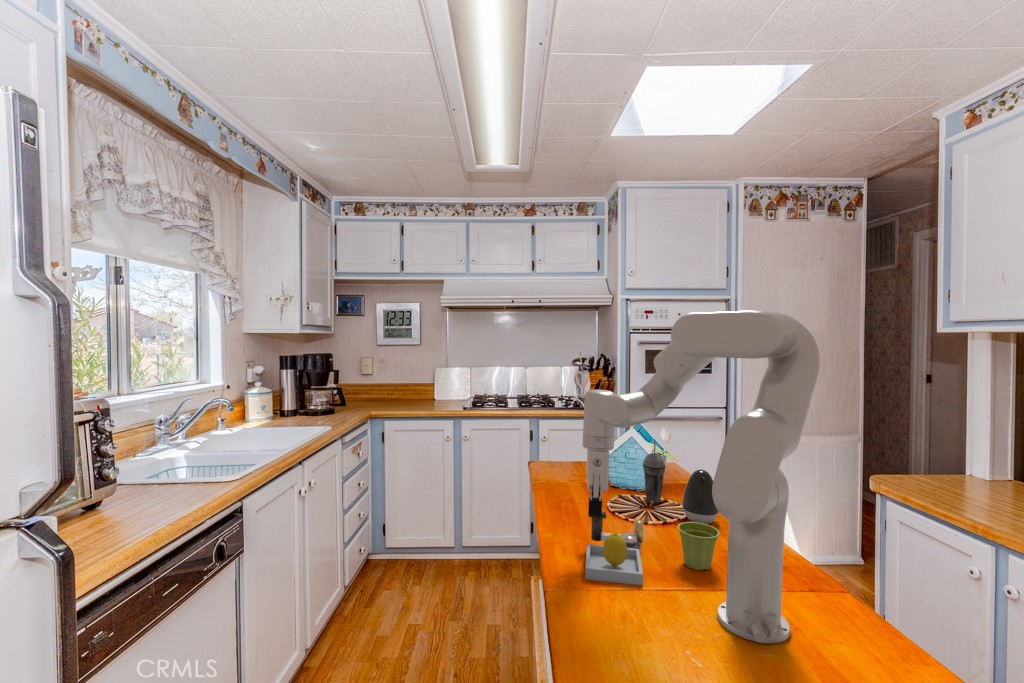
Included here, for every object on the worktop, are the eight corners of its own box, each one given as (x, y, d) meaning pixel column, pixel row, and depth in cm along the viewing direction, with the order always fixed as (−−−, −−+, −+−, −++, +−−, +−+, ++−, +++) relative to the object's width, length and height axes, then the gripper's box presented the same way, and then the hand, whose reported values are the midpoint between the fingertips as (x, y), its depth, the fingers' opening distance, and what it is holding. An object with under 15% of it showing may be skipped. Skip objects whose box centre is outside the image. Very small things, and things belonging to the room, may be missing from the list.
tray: (642, 585, 109) (643, 574, 109) (585, 579, 111) (585, 568, 111) (638, 559, 121) (639, 549, 121) (586, 554, 123) (587, 544, 123)
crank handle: (636, 539, 127) (636, 512, 127) (637, 545, 123) (637, 518, 123) (588, 534, 129) (588, 508, 129) (587, 541, 125) (588, 514, 125)
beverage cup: (641, 502, 161) (642, 441, 160) (642, 495, 168) (643, 436, 167) (664, 505, 159) (666, 443, 158) (664, 497, 166) (666, 438, 165)
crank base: (646, 557, 122) (646, 537, 122) (616, 554, 123) (617, 535, 123) (642, 538, 133) (643, 519, 133) (615, 535, 135) (615, 517, 135)
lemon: (599, 569, 115) (600, 535, 114) (606, 559, 119) (607, 526, 119) (623, 574, 112) (624, 540, 112) (629, 564, 117) (630, 531, 117)
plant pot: (681, 552, 125) (682, 518, 125) (721, 562, 120) (722, 527, 120) (672, 567, 117) (673, 531, 117) (715, 578, 112) (716, 540, 112)
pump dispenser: (683, 525, 142) (685, 473, 142) (680, 512, 153) (681, 463, 152) (721, 529, 140) (723, 476, 140) (715, 516, 150) (717, 466, 150)
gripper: (614, 450, 112) (610, 529, 113) (613, 435, 127) (610, 505, 128) (581, 447, 113) (577, 525, 114) (583, 432, 128) (580, 502, 129)
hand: (594, 514), depth 121 cm, fingers closed
